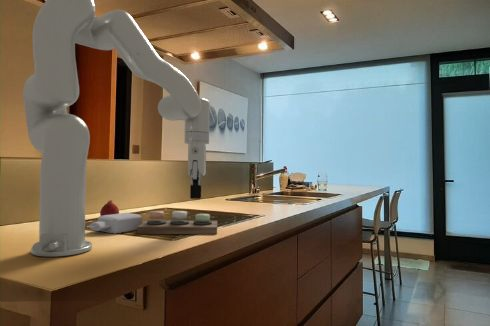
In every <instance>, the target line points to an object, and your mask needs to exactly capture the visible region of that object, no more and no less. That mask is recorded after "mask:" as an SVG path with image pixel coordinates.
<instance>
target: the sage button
mask: <svg viewBox="0 0 490 326" xmlns="http://www.w3.org/2000/svg"><path fill="white" fill-rule="evenodd" d="M194 215H195V219H194V221H198V222H206V221H211V215H210V214H209V213H197V214H194Z"/></svg>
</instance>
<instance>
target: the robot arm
mask: <svg viewBox="0 0 490 326" xmlns="http://www.w3.org/2000/svg"><path fill="white" fill-rule="evenodd" d="M76 44H77V45H81V46H85V47H89V48H91V49H96V50H101V51H112V50H115V51H116V53H117V54H118V56H119V57H121V59H122V60H123V62H124V63H125V65H126V66H127V67H128V69H129V70H130V71H131V72H132V74H133V75H134V76H136V77H137V78H140V79H142V80H145V81H148V82H151V83H154V84H156V85H158V86H159V87H161V88H162V89H163V90H165V91H166V92H167V93H168V94H169V95H166V96H164V97H163V98H161V99H160V101H158V104H157V111H158V113H159V115H160V116H161V117H162V118H164V119H165V120H167V121H175V122H176V121H183V122H184V143H183V144H188V145H187V173H188V175H189V176H190V185H189V186H190V192H189V193H190V194H189V198H190V199H191V200H192V199H195V200H197V199H198V200H201V199H202V176H203V177H204V176H205V175H206V174H207V170H206V169H207V168H206V167H207V145H209V144H210V114H211V113H210V112H211V111H210V110H211V105H210V104H211V103H210V101H209V100H208V99H206V98H203V97H200V96H199V94H198V91H197V90H196V89H195V87H194V85H193V84H192V82H191V81H190V80H189V79H188V77H186V75H185V74H184V73H183V72H181V71H180V70H179V69H178V68H176V67H174V66H173V65H172V64H170V63H169V62H168V61H166V60H164V59H163V58H161V57H160V55H159V54H158V53H157V51H156V50H155V48H154V47H153V45H152V44H151V42H150V41H149V39H148V37H147V36H146V35H145V34H144V32H143V31H142V29H141V28H140V27H139V25H138V24H137V22H136V21H135V20H134V18H133V17H132V16H131V14H130V13H129V12H127V11H126V10H123V9H114V10H111V11H108V12H106V13H104V14H103V15H101V16H96V4H95V1H94V0H46V1H45V2H44V3H43V5H42V6H41V7H40V9H39V11H38V12H37V15H36V17H35V20H34V22H33V28H32V52H33V53H32V55H33V65H34V73H33V74H32V75H30V76H29V77H28V78H27V80H26V81H25V83H24V85H23V86H24V87H23V89H22V90H23V91H22V92H23V94H22V96H23V98H22V99H23V105H24V106H23V107H24V113H25V121H26V128H27V135H28V138H29V141H30V144H31V145H32V147H33V148H34V149H35V150H36V151H38V152H39V153H42V156H41V162H40V170H39V220H38V221H39V225H38V226H39V228H38V229H39V230H38V231H39V232H38V233H39V234H38V236H39V237H38V241H37V242H35V243H34V244H32V246H31V248H30V253H31V254H32V255H33V256H37V257H48V258H49V257H53V258H55V257H67V256H73V255H79V254H84V253H86V252H88V251H90V250H92V249H93V243H92V242H91V241H89V240H86V199H87V198H86V197H87V196H86V193H87V192H86V190H87V187H86V186H87V183H86V182H87V181H86V180H87V163H88V161H87V160H88V155H89V148H90V144H91V143H90V142H91V140H90V139H91V135H90V130H89V127H88V125H87V123H86V122H85V121H84V120H83V119H82V118H80V117H79V116H77V115H75V114H71V113H68V112H67V111H68V110H67V108H68V107H69V106H72V105H74V103H76V102H77V100H78V98H80V97H79V96H80V84H79V77H78V69H77V61H76V60H77V59H76Z"/></svg>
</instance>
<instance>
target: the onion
mask: <svg viewBox="0 0 490 326" xmlns="http://www.w3.org/2000/svg"><path fill="white" fill-rule="evenodd" d="M111 214H120V209H119V207H118V206H117V205H116V204H115V203H113V200H112V199H110V200H108V201H107V202H106V203H105V204H104V205H103V206H102V207H101V209H100V212H99V215H100V216H103V215H111Z"/></svg>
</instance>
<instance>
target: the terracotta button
mask: <svg viewBox="0 0 490 326" xmlns="http://www.w3.org/2000/svg"><path fill="white" fill-rule="evenodd" d="M164 218H165V211H163V210H151V211H149V212H148V219H150V220H162V219H164Z"/></svg>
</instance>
